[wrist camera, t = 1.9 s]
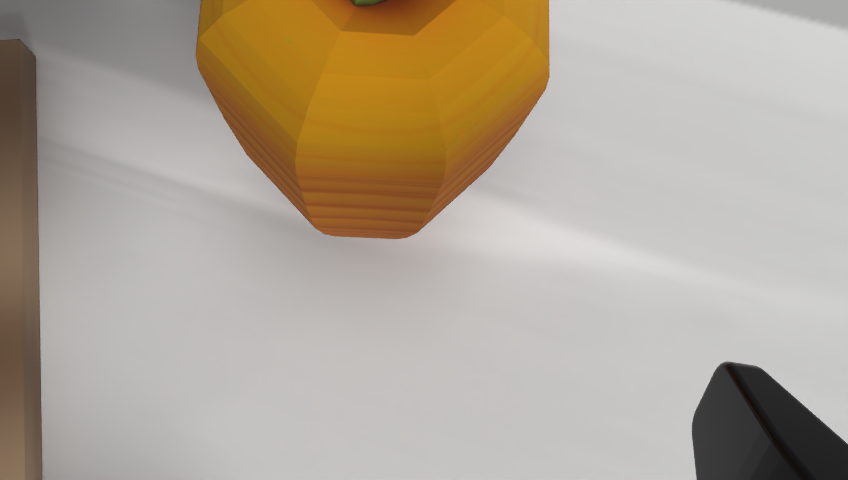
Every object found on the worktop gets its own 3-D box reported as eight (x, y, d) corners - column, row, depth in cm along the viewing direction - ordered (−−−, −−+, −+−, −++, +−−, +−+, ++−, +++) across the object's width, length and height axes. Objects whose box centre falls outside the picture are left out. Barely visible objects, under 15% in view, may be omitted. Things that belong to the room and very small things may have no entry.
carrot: (240, 143, 21) (-33, -513, 6) (422, 84, 21) (571, -627, 7) (305, 326, 20) (170, 82, 5) (492, 258, 21) (833, -123, 6)
